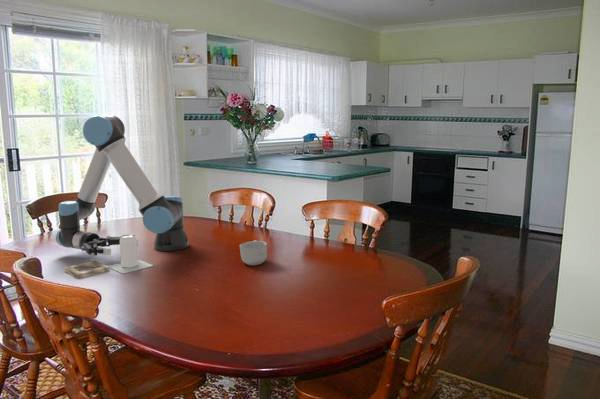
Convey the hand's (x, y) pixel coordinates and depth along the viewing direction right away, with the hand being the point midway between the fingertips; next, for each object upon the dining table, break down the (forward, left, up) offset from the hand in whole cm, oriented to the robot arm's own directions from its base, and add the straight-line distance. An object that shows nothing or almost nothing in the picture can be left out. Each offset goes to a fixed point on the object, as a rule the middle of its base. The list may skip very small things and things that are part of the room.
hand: (124, 247), depth 196 cm
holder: (+13, -5, -7) cm, 16 cm away
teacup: (-38, +34, -8) cm, 52 cm away
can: (-1, +2, -7) cm, 8 cm away
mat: (-1, +2, -7) cm, 8 cm away
